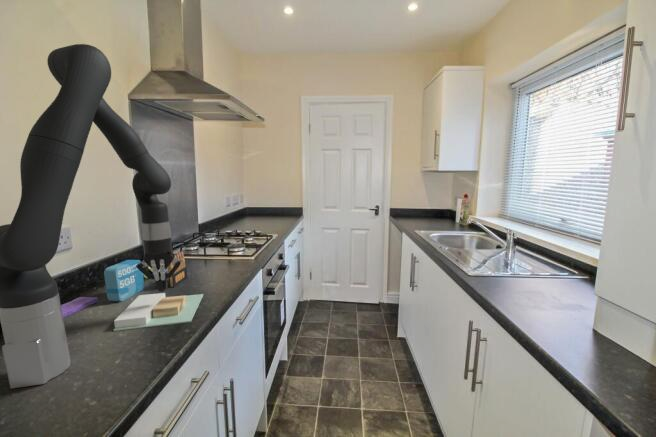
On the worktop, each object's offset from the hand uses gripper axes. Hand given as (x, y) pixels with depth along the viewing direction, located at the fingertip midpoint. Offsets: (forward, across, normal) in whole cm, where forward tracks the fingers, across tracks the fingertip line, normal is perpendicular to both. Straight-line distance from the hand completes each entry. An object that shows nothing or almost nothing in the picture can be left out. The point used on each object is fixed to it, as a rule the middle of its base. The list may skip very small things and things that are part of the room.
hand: (162, 290), depth 93 cm
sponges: (+8, -31, +10) cm, 33 cm away
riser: (+7, -6, 0) cm, 9 cm away
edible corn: (+7, -16, +39) cm, 43 cm away
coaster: (+6, +2, 0) cm, 7 cm away
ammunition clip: (+7, -2, +26) cm, 27 cm away
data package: (+7, -17, +17) cm, 25 cm away
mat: (+7, 0, 0) cm, 7 cm away
